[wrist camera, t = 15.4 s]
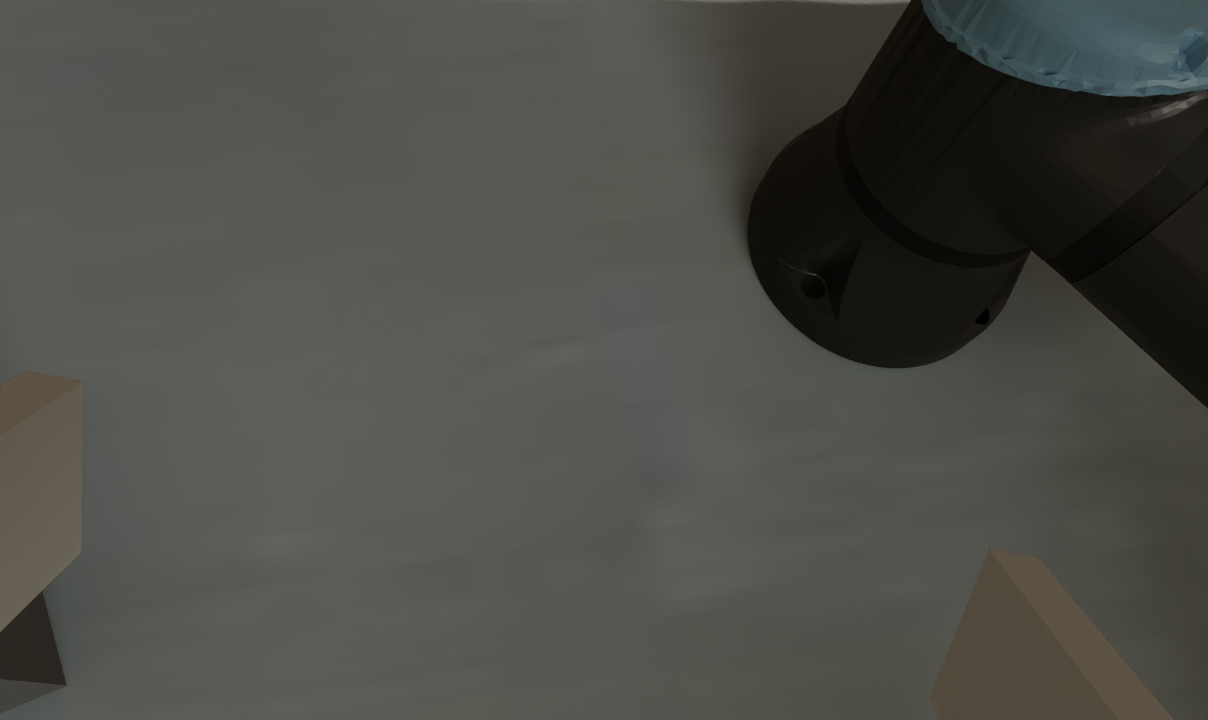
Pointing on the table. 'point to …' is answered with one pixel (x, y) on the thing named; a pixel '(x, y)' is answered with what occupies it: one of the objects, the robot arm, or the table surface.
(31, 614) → the stand
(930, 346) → the robot arm
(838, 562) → the table surface
